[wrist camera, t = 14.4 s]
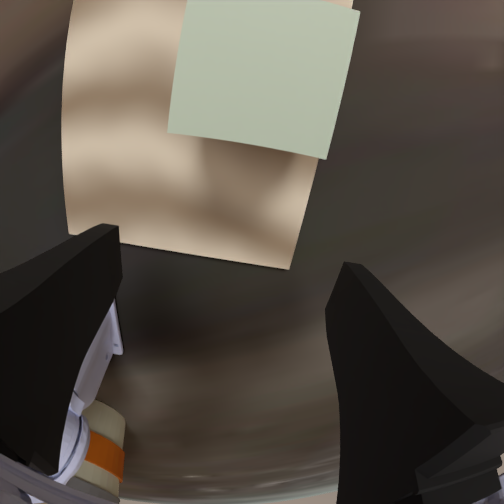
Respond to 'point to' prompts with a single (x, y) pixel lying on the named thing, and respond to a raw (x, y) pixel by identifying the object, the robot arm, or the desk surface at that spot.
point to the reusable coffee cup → (102, 454)
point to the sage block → (262, 72)
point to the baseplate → (165, 148)
